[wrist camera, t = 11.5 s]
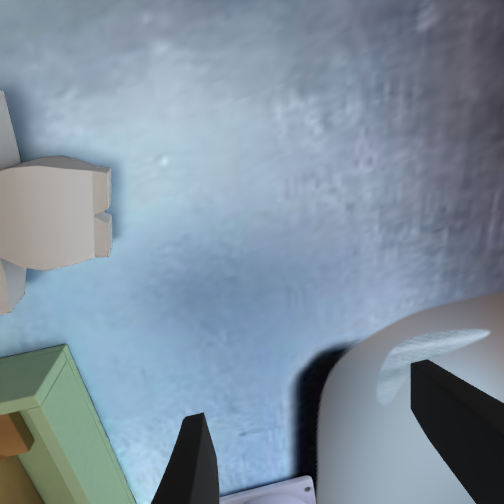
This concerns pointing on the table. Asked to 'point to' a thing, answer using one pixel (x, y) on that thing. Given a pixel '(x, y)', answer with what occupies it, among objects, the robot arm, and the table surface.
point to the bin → (61, 430)
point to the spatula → (15, 462)
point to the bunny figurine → (47, 213)
